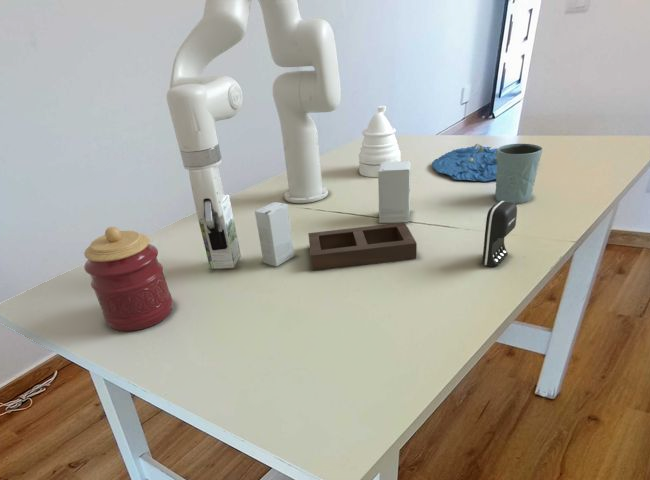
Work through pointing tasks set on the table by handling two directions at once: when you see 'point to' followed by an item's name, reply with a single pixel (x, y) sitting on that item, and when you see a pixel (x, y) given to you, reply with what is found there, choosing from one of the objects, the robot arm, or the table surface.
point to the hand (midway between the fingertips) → (221, 241)
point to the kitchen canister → (128, 280)
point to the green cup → (516, 172)
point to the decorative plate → (469, 163)
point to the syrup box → (232, 253)
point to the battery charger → (498, 231)
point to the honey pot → (378, 145)
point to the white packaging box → (394, 191)
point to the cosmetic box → (275, 233)
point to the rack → (361, 246)
